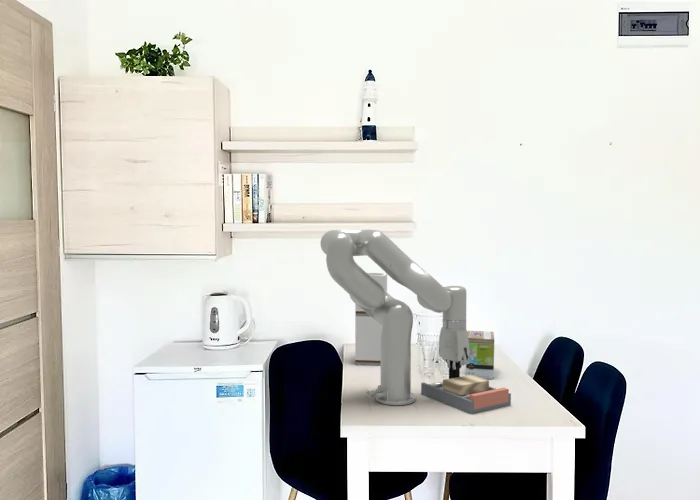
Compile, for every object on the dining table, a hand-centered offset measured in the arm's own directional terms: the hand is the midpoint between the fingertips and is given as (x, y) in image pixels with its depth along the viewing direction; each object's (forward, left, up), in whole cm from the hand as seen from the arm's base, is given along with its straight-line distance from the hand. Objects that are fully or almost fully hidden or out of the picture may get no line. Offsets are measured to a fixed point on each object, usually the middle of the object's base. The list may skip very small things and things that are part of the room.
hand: (454, 380), depth 201 cm
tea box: (+26, +16, -5) cm, 31 cm away
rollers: (0, -4, -4) cm, 6 cm away
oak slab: (0, -6, -2) cm, 6 cm away
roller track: (0, -5, -5) cm, 7 cm away
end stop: (0, -16, -4) cm, 17 cm away
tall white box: (+1, +51, -5) cm, 51 cm away
